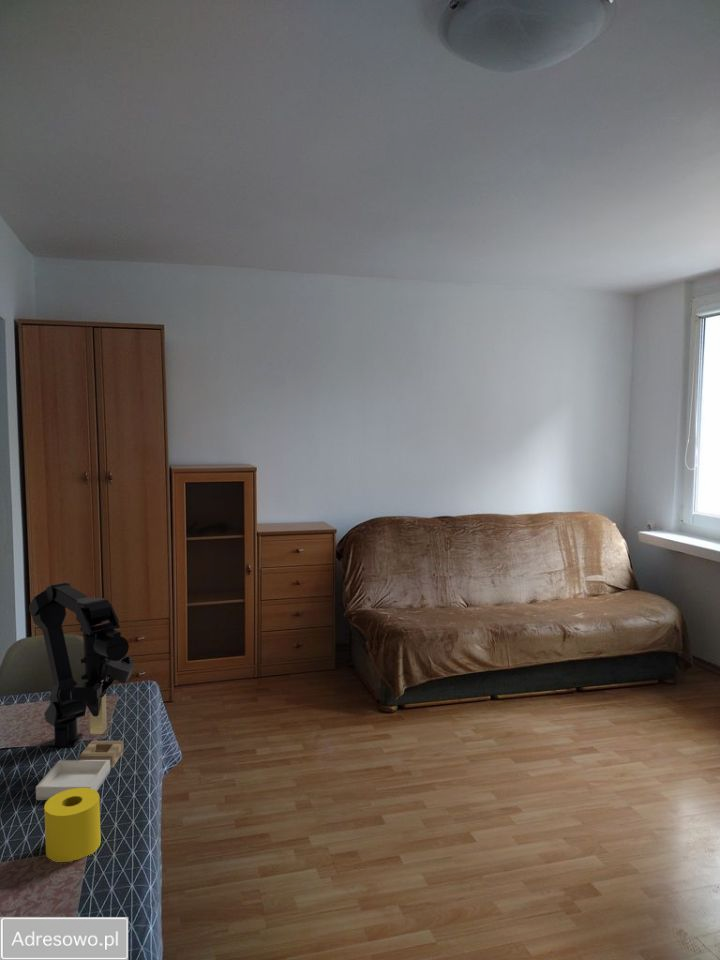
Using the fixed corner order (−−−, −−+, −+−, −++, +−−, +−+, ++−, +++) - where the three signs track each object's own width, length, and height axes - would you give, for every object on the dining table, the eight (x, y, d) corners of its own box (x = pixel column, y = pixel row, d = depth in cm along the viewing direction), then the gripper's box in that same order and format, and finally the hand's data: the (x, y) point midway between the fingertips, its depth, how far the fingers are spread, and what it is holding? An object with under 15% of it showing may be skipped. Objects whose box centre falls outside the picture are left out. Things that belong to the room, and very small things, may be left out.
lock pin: (94, 728, 169) (93, 693, 168) (107, 728, 169) (105, 693, 168) (90, 733, 166) (89, 698, 165) (102, 733, 166) (101, 698, 165)
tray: (59, 772, 163) (58, 760, 163) (110, 771, 163) (110, 759, 163) (36, 800, 151) (35, 787, 151) (91, 799, 151) (90, 786, 151)
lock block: (91, 752, 173) (91, 740, 173) (123, 752, 173) (123, 740, 173) (79, 768, 165) (79, 756, 165) (112, 767, 165) (112, 755, 165)
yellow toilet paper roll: (66, 869, 128) (65, 821, 127) (35, 851, 133) (33, 805, 132) (111, 842, 136) (110, 796, 135) (80, 826, 141) (78, 782, 140)
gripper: (116, 664, 156) (118, 729, 158) (140, 639, 175) (142, 697, 176) (68, 665, 156) (70, 730, 157) (97, 639, 175) (98, 698, 176)
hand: (98, 713), depth 167 cm, fingers closed on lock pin, 3 cm apart
